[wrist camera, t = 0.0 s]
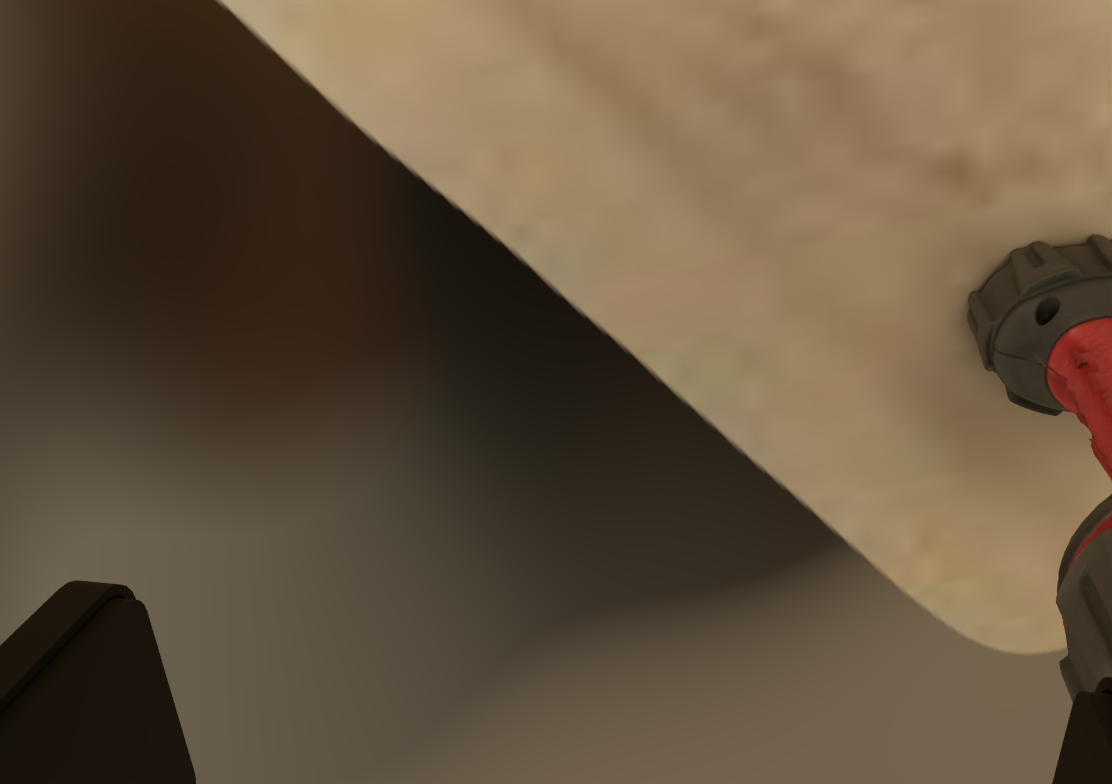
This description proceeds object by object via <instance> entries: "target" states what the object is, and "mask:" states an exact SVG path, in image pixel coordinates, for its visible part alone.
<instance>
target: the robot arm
mask: <svg viewBox="0 0 1112 784" xmlns="http://www.w3.org/2000/svg"><path fill="white" fill-rule="evenodd" d="M0 784H196V777H195V772H194V769H193V765H192V762H191V759H190V755H189V752H188V749H187V745H186V742H185V738H184V735H183V731H182V728H181V725H180V721H179V718H178V714H177V711H176V707H175V704H174V701H173V697H172V694H171V691H170V687H169V684H168V681H167V677H166V674H165V670H164V667H163V664H162V660H161V656H160V653H159V650H158V646H157V643H156V640H155V636H154V633H153V629H152V626H151V623H150V619H149V616H148V612H147V610H146V608H145V605H144V604H143V603H142V602H141V601H139V600H136V598H135V596H134V594H133V592H132V591H131V590H130V589H129V588H128V587H127V586H124V585H119V584H109V583H98V582H88V581H72V582H68V583H67V584H65V585H64V586H62V587H61V588H60V589H59V590H58V591H57V592H55V593H54V594H53V595H52V596H51V597H50V598H49V599H48V600H47V601H46V602H45V603H44V604H43V605H42V606H41V607H40V608H39V609H38V610H37V611H36V612H35V613H34V614H33V615H32V616H30V618H28V619H27V620H26V621H25V622H24V623H23V624H22V625H21V626H20V627H19V628H18V629H17V630H16V631H15V632H14V633H13V634H12V635H11V636H10V637H9V638H8V639H7V640H6V641H5V642H3V644H1V646H0ZM1052 784H1112V677H1103V678H1102V679H1101V680H1100V682H1099V683H1098V685H1097V688H1096V690H1095V692H1087V691H1079V692H1078V693H1077V695H1076V696H1075V699H1074V702H1073V705H1072V709H1071V713H1070V717H1069V721H1068V725H1067V729H1066V732H1065V737H1064V740H1063V744H1062V748H1061V752H1060V756H1059V760H1058V763H1057V767H1056V771H1055V775H1054V779H1053V783H1052Z"/></svg>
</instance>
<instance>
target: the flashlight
mask: <svg viewBox="0 0 1112 784" xmlns="http://www.w3.org/2000/svg"><path fill="white" fill-rule="evenodd" d="M968 302H969V306H970V309H969V312H968V314H967V315H968V322H969V325H970V327H971V329H972V332H973V334H974V336H975V339H976V342H977V345H978V348H979V351H980V354H981V358H982V361H983V364H984V367H985V369H986V370H988V371H994V372H996V373H997V374H998V376H999V377H1000V379H1001V380H1002V382H1003V383H1004V384H1005V387H1006V391H1007V395H1008V398H1009V400H1010V401H1011V402H1013V403H1015V404H1017V405H1019V406H1022V407H1024V408H1027V409H1030V410H1033V411H1036V412H1039V413H1043V414H1048V415H1053V416H1058V415H1059V414H1060V413H1061V412H1062V411H1067V412H1073V413H1075V414H1076V415H1077V417H1078V419H1079V420H1080V422H1081V423H1083V424H1084V425H1085V426H1086V427H1087V428H1088V429H1089V430H1090V432H1091V434H1092V439H1089V440H1091V447H1092V450H1093V452H1094V455H1095V456H1096V458H1097V459H1098V461H1099V462H1100V464H1101V465H1102V467H1103V468H1104V470H1105V471H1106V473H1107V474H1108V476H1109V477H1110V478H1111V480H1112V240H1108V239H1107V238H1106V237H1104V236H1092V237H1091V238H1090V240H1089V242H1088V245H1082V246H1069V247H1061V248H1055V249H1054V248H1051V247H1050V246H1049V245H1048V244H1046V243H1044V242H1037V243H1033V244H1031V245H1030V246H1028V247H1026V248H1023V249H1017V250H1015V251H1013V252H1012V253H1011V255H1010V263H1009V264H1008V265H1007V266H1005V267H1004V268H1002V269H1001V270H1000V271H998V272H997V273H996V274H995V275H994V276H993V277H992V278H991V279H990V280H989V281H988V282H987V284H986V286H985V287H984V289H983V291H982V292H973V293H972V294H971V295H970V298H969V301H968ZM1056 604H1057V606H1058V608H1059V610H1060V613H1061V615H1062V618H1063V624H1064V628H1065V633H1066V640H1067V647H1068V656H1066V657H1065V658H1064V659H1063V660H1061V661H1060V670H1061V674H1062V676H1063V679H1064V681H1065V684H1066V686H1067V689H1068V691H1069V694H1070V697H1071V699H1072V701H1073V702H1074V699H1075V696H1076V695H1077V693H1078V692H1079V691H1087V692H1095V690H1096V688H1097V685H1098V683H1099V682H1100V680H1101V679H1102V678H1103V677H1112V494H1111V495H1110V496H1109V497H1108V498H1106V499H1105V500H1104V501H1103V502H1102V503H1100V504H1099V505H1098V506H1097V507H1096V508H1095V509H1094V510H1093V511H1092V512H1091V513H1090V514H1089V516H1088V517H1087V518H1086V519H1085V520H1084V521H1083V522H1082V524H1081V525H1080V526H1079V528H1078V529H1077V530H1076V532H1075V533H1074V535H1073V536H1072V538H1071V540H1070V542H1069V544H1068V546H1067V548H1066V550H1065V552H1064V555H1063V558H1062V561H1061V565H1060V569H1059V579H1058V585H1057V597H1056Z"/></svg>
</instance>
